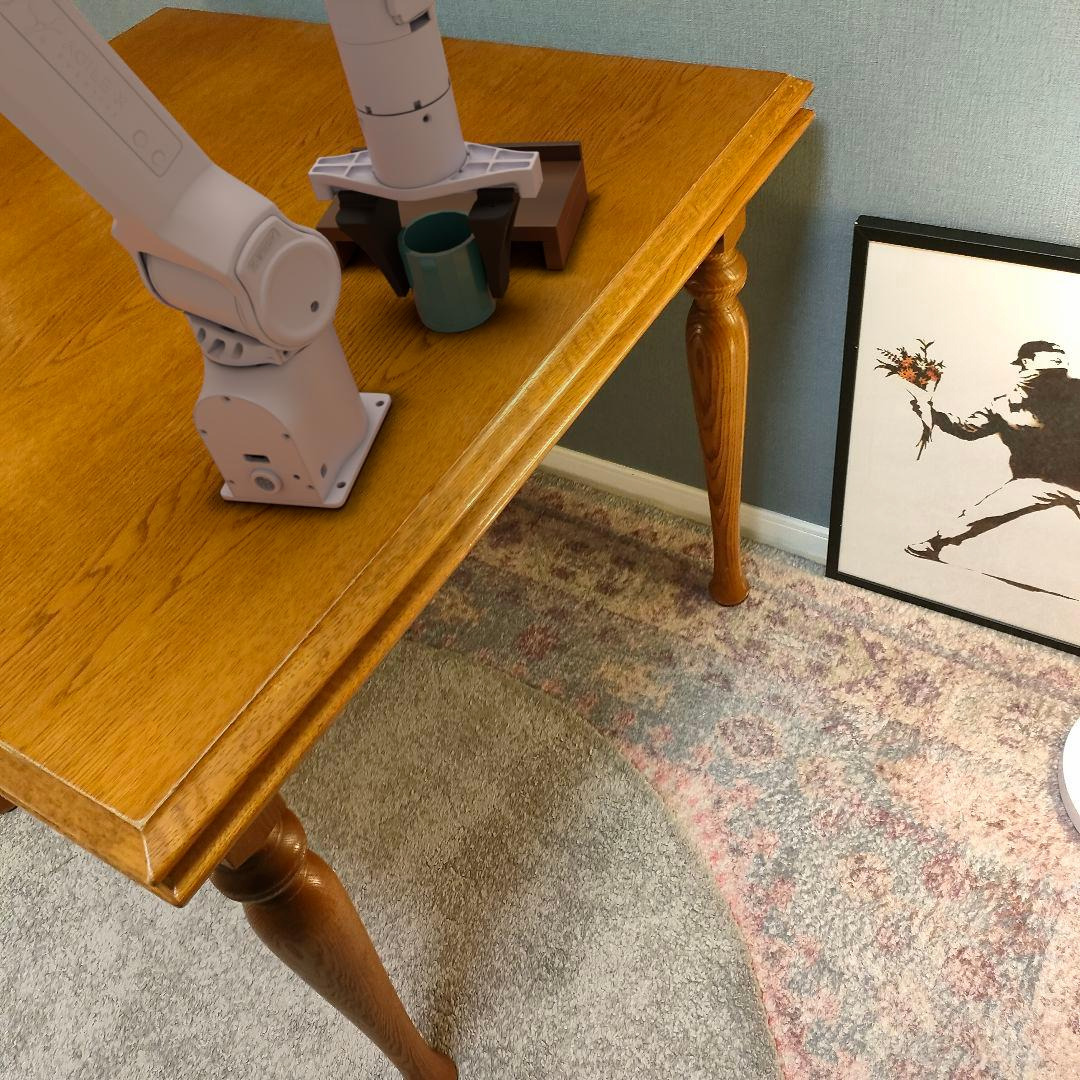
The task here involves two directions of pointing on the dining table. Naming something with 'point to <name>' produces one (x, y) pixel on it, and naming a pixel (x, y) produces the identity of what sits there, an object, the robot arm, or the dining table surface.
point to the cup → (446, 271)
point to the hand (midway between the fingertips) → (453, 288)
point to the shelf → (535, 219)
